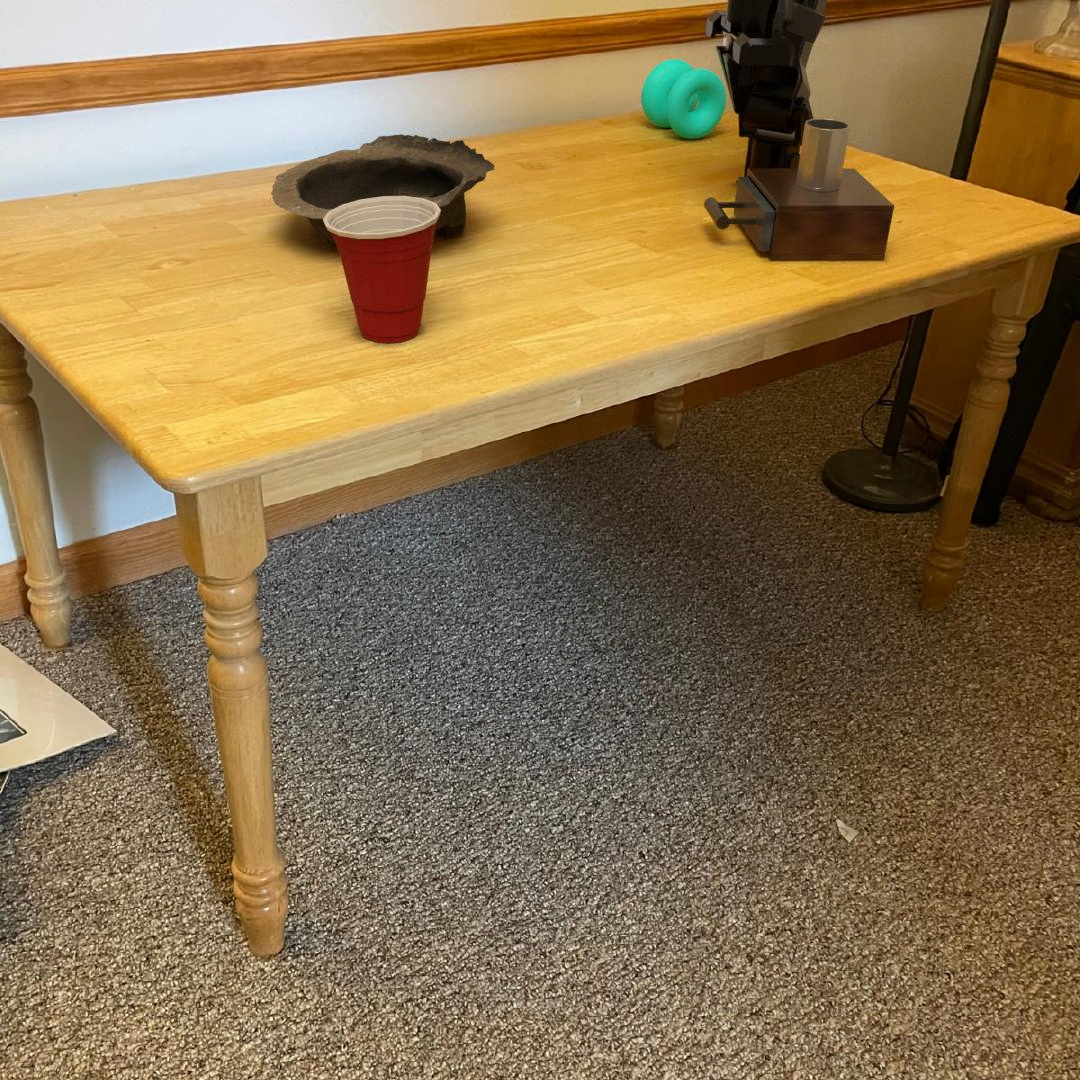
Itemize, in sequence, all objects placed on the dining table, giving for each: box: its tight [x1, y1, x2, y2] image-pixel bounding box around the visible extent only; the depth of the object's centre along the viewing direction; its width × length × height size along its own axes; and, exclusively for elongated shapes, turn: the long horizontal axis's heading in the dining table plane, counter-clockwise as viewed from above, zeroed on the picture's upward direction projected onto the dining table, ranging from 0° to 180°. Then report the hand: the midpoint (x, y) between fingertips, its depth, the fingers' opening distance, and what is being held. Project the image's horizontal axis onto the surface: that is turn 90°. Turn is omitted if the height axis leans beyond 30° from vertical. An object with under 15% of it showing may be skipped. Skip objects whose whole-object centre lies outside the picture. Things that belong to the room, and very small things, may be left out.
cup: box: [796, 117, 851, 192], centre depth 136 cm, size 5×5×7 cm
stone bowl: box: [270, 134, 496, 246], centre depth 136 cm, size 25×25×9 cm
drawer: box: [703, 176, 776, 253], centre depth 139 cm, size 17×13×5 cm
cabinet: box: [747, 168, 895, 262], centre depth 139 cm, size 13×14×6 cm
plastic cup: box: [323, 196, 441, 344], centre depth 112 cm, size 11×11×12 cm
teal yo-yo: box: [640, 58, 727, 140], centre depth 178 cm, size 10×10×10 cm
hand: (739, 113), depth 143 cm, fingers closed
